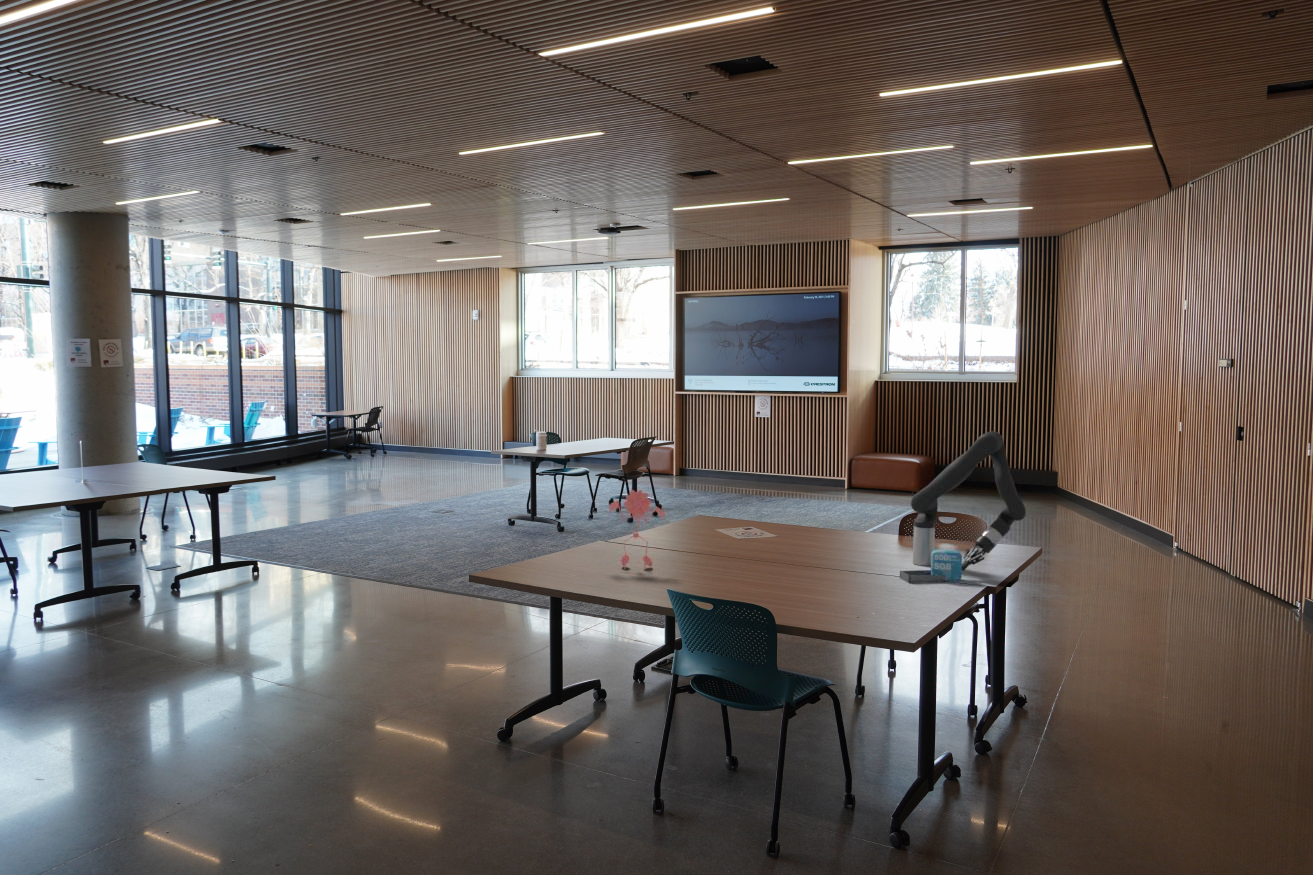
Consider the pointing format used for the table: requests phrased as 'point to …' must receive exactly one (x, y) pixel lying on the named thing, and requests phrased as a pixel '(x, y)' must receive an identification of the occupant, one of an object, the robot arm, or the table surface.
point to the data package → (946, 564)
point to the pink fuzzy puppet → (636, 506)
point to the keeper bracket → (921, 576)
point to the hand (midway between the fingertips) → (961, 568)
